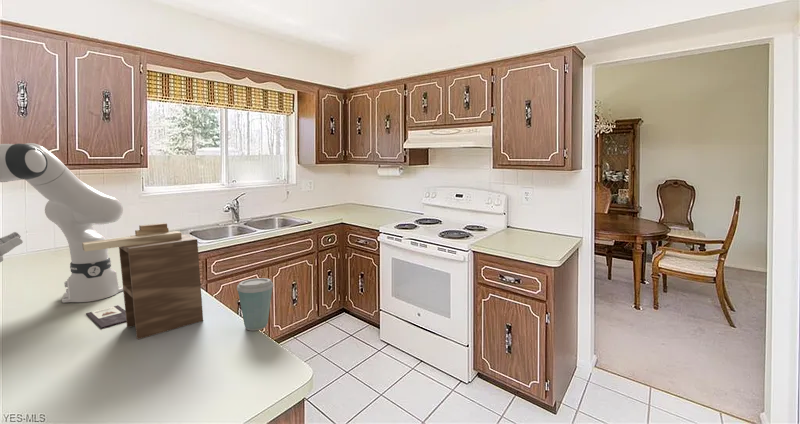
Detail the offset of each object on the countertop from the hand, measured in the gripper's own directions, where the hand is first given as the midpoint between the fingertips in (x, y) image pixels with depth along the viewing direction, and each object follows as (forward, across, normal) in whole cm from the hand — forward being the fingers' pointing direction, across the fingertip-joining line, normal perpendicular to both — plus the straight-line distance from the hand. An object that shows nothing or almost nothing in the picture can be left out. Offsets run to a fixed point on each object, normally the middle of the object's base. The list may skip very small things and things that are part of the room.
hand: (19, 236), depth 95 cm
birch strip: (+18, 0, +17) cm, 25 cm away
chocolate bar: (0, +20, +38) cm, 43 cm away
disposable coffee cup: (+26, -24, +53) cm, 64 cm away
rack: (+10, 0, +43) cm, 44 cm away
